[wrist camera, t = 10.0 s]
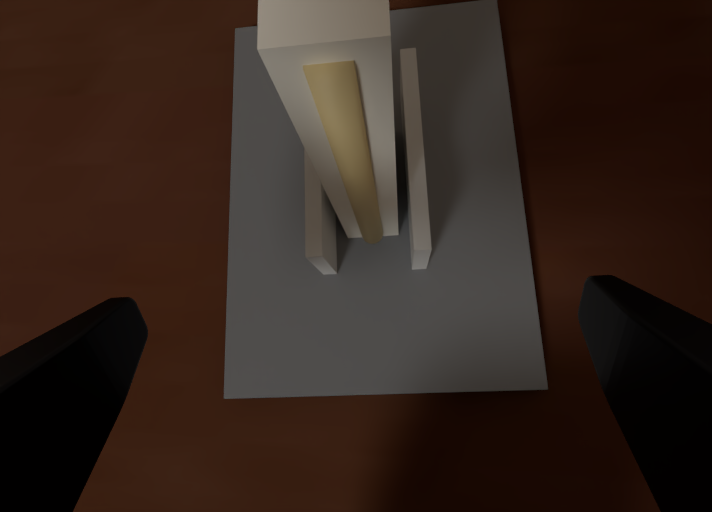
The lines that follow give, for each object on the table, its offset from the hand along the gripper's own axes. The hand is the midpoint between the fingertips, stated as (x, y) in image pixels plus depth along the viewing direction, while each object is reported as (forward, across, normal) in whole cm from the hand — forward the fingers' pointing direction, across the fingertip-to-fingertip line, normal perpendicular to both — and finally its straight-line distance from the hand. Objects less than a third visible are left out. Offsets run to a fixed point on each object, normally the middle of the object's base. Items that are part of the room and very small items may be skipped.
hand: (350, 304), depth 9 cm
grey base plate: (+12, 0, +3) cm, 12 cm away
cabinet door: (+11, 0, +2) cm, 11 cm away
